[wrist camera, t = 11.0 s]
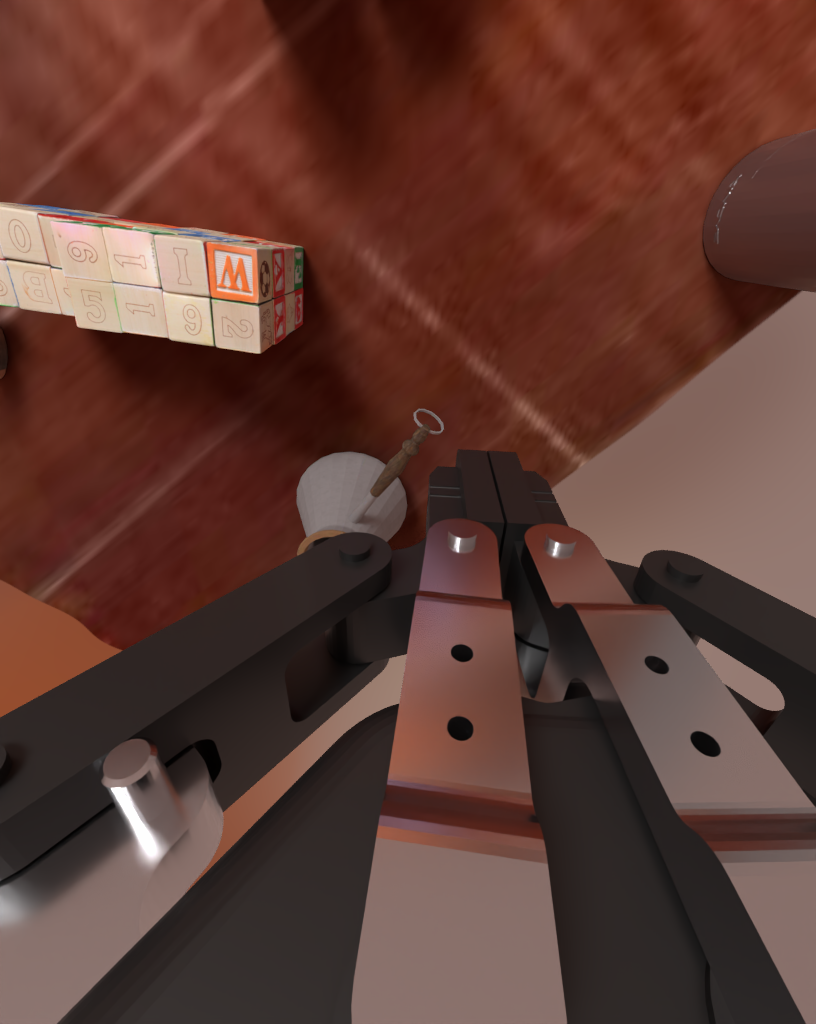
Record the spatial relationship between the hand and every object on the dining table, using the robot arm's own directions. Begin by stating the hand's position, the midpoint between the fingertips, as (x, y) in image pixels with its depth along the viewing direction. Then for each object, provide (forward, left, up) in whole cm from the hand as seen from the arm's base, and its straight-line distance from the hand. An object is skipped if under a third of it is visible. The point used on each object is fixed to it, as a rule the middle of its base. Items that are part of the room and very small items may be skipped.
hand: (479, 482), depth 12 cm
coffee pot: (+6, +14, -32) cm, 36 cm away
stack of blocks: (+23, -2, -32) cm, 40 cm away
